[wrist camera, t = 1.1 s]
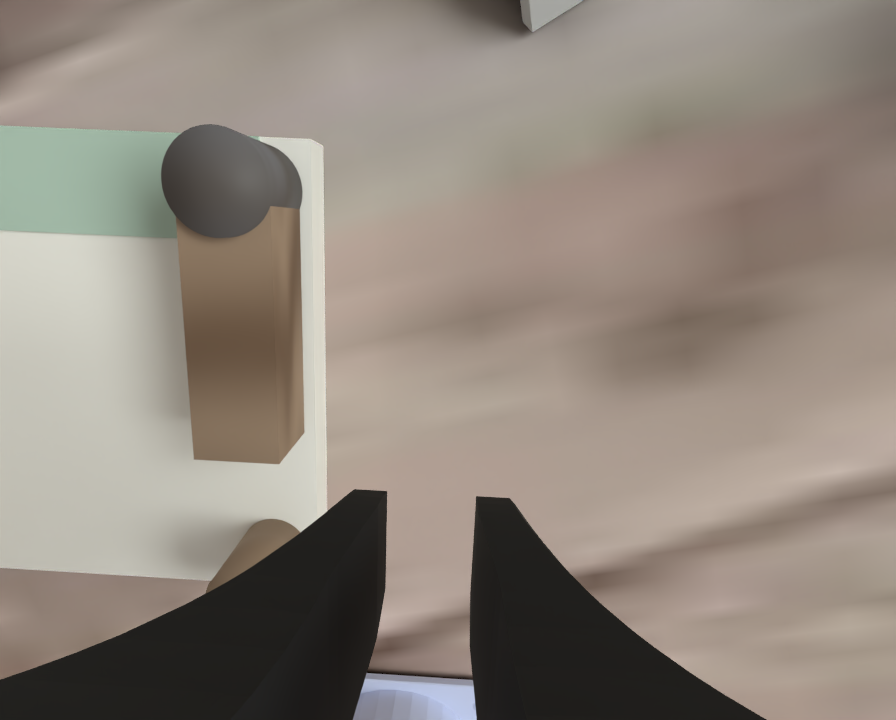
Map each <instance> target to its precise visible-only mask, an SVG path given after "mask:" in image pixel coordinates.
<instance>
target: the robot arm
mask: <svg viewBox="0 0 896 720" xmlns="http://www.w3.org/2000/svg"><path fill="white" fill-rule="evenodd" d="M386 522H387V491H373V490H356V489H354V490H353V491H352V492H350V493H349V494H348V495H347V496H345V497H344V498H343V499H342V500H340V501H339V502H338V503H337V504H336V505H334V506H333V507H332V508H331V509H329V510H328V511H327V512H326V513H325V514H323V515H322V516H321V517H320V518H318V519H317V520H316V521H314V522H313V523H312V524H311V525H309V526H308V527H307V528H306V529H304V530H303V531H302V532H300V533H299V534H298V535H297V536H295V537H294V538H292V539H291V540H290V541H288V542H287V543H285V544H284V545H282V546H281V547H279V548H278V549H277V550H275V551H274V552H272V553H271V554H269V555H268V556H267V557H265V558H264V559H262V560H261V561H259V562H258V563H256V564H255V565H254V566H252V567H250V568H249V569H247V570H246V571H244V572H242V573H241V574H239V575H238V576H236V577H234V578H233V579H231V580H229V581H228V582H226V583H224V584H222V585H220V586H219V587H217V588H215V589H213V590H211V591H210V592H208V593H206V594H204V595H202V596H201V597H199V598H197V599H195V600H193V601H191V602H189V603H187V604H185V605H183V606H181V607H179V608H177V609H175V610H173V611H171V612H168V613H166V614H164V615H162V616H160V617H158V618H156V619H153V620H151V621H149V622H147V623H145V624H143V625H141V626H138V627H136V628H134V629H132V630H130V631H128V632H126V633H123V634H121V635H119V636H116V637H114V638H112V639H109V640H107V641H104V642H102V643H99V644H97V645H94V646H92V647H89V648H87V649H84V650H82V651H79V652H77V653H74V654H71V655H69V656H66V657H63V658H61V659H58V660H55V661H52V662H50V663H47V664H44V665H42V666H39V667H36V668H33V669H31V670H28V671H25V672H22V673H19V674H16V675H13V676H10V677H7V678H4V679H1V680H0V720H766V719H764V718H763V717H761V716H759V715H757V714H756V713H754V712H752V711H751V710H749V709H747V708H746V707H744V706H742V705H741V704H739V703H737V702H736V701H734V700H732V699H730V698H729V697H727V696H725V695H724V694H722V693H721V692H719V691H717V690H716V689H714V688H713V687H711V686H710V685H708V684H707V683H705V682H703V681H702V680H700V679H699V678H697V677H696V676H694V675H693V674H691V673H690V672H688V671H687V670H685V669H684V668H683V667H681V666H680V665H678V664H677V663H676V662H674V661H673V660H671V659H670V658H669V657H667V656H666V655H664V654H663V653H661V652H660V651H659V650H657V649H656V648H654V647H653V646H652V645H650V644H649V643H648V642H646V641H645V640H644V639H643V638H641V637H640V636H639V635H637V634H636V633H635V632H634V631H632V630H631V629H630V628H629V627H627V626H626V625H625V624H624V623H623V622H622V621H620V620H619V619H618V618H617V617H616V616H615V615H613V614H612V613H611V612H610V611H609V610H607V609H606V608H605V607H604V606H603V605H602V604H601V603H599V602H598V601H597V600H596V599H595V598H594V597H593V596H592V595H591V594H590V593H589V592H588V591H587V590H586V589H585V588H584V587H583V586H582V585H581V584H580V583H579V582H578V581H577V580H576V579H575V578H574V577H573V576H572V575H571V574H570V573H569V572H568V571H567V570H566V569H565V568H564V566H563V565H562V564H561V563H560V562H559V561H558V560H557V558H556V557H555V556H554V555H553V554H552V552H551V551H550V550H549V549H548V548H547V547H546V545H545V544H544V543H543V542H542V540H541V539H540V538H539V537H538V535H537V534H536V533H535V531H534V530H533V529H532V527H531V526H530V525H529V523H528V522H527V521H526V519H525V518H524V517H523V515H522V514H521V512H520V511H519V510H518V508H517V507H516V505H515V504H514V503H513V502H512V501H511V499H510V498H495V497H478V496H476V511H475V528H474V544H473V560H472V576H471V592H470V653H471V664H472V674H473V680H465V679H450V678H435V677H419V676H404V675H389V674H374V673H367V670H368V667H369V663H370V660H371V656H372V653H373V649H374V646H375V642H376V639H377V633H378V628H379V622H380V616H381V610H382V604H383V599H384V593H385V577H386Z"/></svg>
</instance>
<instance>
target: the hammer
mask: <svg viewBox="0 0 896 720" xmlns="http://www.w3.org/2000/svg"><path fill="white" fill-rule="evenodd" d="M161 183H162V189H163V193H164V196H165V199H166V201H167V203H168V205H169V207H170V209H171V210H172V212H173V213H174V214H175V216H176V228H177V241H178V254H179V268H180V281H181V294H182V308H183V321H184V334H185V348H186V361H187V374H188V388H189V401H190V414H191V428H192V441H193V455H194V460H210V461H228V462H246V463H264V464H280V463H281V461H282V460H283V459H284V458H285V456H286V455H287V454H288V453H289V451H290V450H291V449H292V448H293V446H294V445H295V444H296V443H297V441H298V440H299V439H300V438H301V436H302V435H303V434H304V432H305V431H304V385H303V338H302V291H301V245H300V207H301V203H302V193H303V191H302V183H301V179H300V176H299V173H298V171H297V169H296V167H295V166H294V164H293V163H292V161H291V160H290V159H289V158H288V157H287V156H286V155H285V154H284V153H283V152H281V151H280V150H279V149H277V148H275V147H273V146H271V145H268V144H266V143H263V142H261V141H259V140H256V139H254V138H251V137H249V136H246V135H244V134H241V133H239V132H236V131H234V130H232V129H229V128H227V127H223V126H219V125H212V124H208V125H199V126H195V127H192V128H190V129H188V130H186V131H184V132H183V133H181V134H180V135H178V136H177V137H176V138H175V139H174V140H173V142H172V143H171V144H170V146H169V147H168V149H167V151H166V153H165V156H164V158H163V162H162V168H161Z"/></svg>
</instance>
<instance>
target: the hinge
mask: <svg viewBox="0 0 896 720" xmlns="http://www.w3.org/2000/svg"><path fill="white" fill-rule="evenodd" d="M582 1H583V0H520V3H521V12H522V20H523V23H524V24H525V25H526V26H527V27H528V28H529V29H530V30H531V31H532V32H534V31H535V30H537V29H539V28H540V27H542V26H543V25H545V24H547V23H548V22H550V21H551V20H553V19H554V18H556V17H558V16H559V15H561V14H562V13H564V12H566V11H567V10H569V9H570V8H572V7H574V6H575V5H577V4H578V3H580V2H582Z"/></svg>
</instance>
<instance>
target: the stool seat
mask: <svg viewBox="0 0 896 720" xmlns="http://www.w3.org/2000/svg"><path fill="white" fill-rule="evenodd" d="M180 134H181V133H166V132H142V131H117V130H93V129H69V128H45V127H21V126H0V568H12V569H28V570H44V571H60V572H76V573H93V574H109V575H125V576H141V577H157V578H173V579H190V580H206V581H211V582H210V583H209V585H208V588H207V591H206V593H208V592H210V591H211V590H213V589H215V588H217V587H219V586H220V585H222V584H224V583H226V582H228V581H229V580H231V579H233V578H234V577H236V576H238V575H239V574H241V573H242V572H244V571H246V570H247V569H249V568H250V567H252V566H254V565H255V564H256V563H258V562H259V561H261V560H262V559H264V558H265V557H267V556H268V555H269V554H271V553H272V552H274V551H275V550H277V549H278V548H279V547H281V546H282V545H284V544H285V543H287V542H288V541H290V540H291V539H292V538H294V537H295V536H297V535H298V534H299V533H300V532H302V531H303V530H304V529H306V528H307V527H308V526H309V525H311V524H312V523H313V522H314V521H316V520H317V519H318V518H320V517H321V516H322V515H323V514H325V513H326V512H327V436H326V346H325V255H324V165H323V145H321V144H319V143H317V142H315V141H313V140H312V139H299V138H275V137H259V136H249V137H251V138H254V139H256V140H259V141H261V142H263V143H266V144H268V145H271V146H273V147H275V148H277V149H279V150H280V151H281V152H283V153H284V154H285V155H286V156H287V157H288V158H289V159H290V160H291V161H292V163H293V164H294V166H295V167H296V169H297V171H298V173H299V176H300V179H301V183H302V191H303V193H302V203H301V207H300V245H301V291H302V338H303V385H304V431H305V432H304V434H303V435H302V436H301V438H300V439H299V440H298V441H297V443H296V444H295V445H294V446H293V448H292V449H291V450H290V451H289V453H288V454H287V455H286V456H285V458H284V459H283V460H282V461H281V463H280V464H264V463H246V462H228V461H210V460H194V455H193V441H192V428H191V414H190V401H189V388H188V374H187V361H186V348H185V334H184V321H183V308H182V294H181V281H180V268H179V254H178V241H177V228H176V216H175V214H174V213H173V212H172V210H171V209H170V207H169V205H168V203H167V201H166V199H165V196H164V193H163V189H162V183H161V168H162V162H163V158H164V156H165V153H166V151H167V149H168V147H169V146H170V144H171V143H172V142H173V140H174V139H175V138H176V137H177V136H178V135H180Z"/></svg>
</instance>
